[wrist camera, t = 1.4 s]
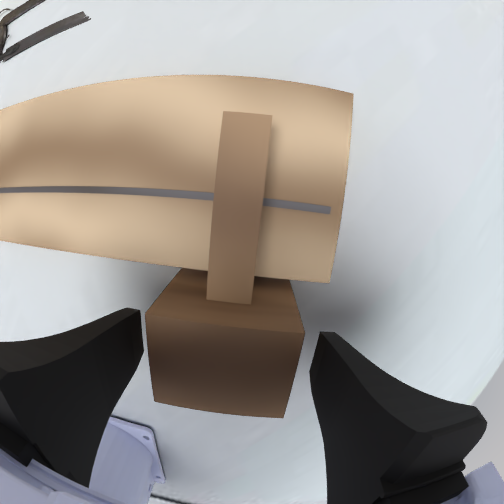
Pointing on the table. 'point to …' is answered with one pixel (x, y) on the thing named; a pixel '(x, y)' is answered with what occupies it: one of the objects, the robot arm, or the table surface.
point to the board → (173, 170)
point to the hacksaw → (38, 36)
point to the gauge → (228, 300)
